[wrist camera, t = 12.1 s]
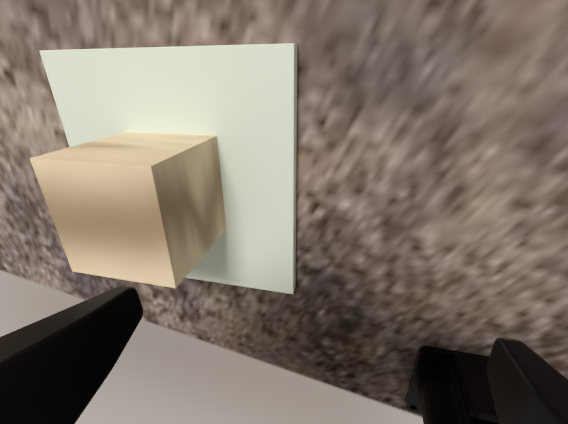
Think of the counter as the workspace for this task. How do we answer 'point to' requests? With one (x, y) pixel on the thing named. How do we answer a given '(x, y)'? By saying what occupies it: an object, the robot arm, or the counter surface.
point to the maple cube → (135, 204)
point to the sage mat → (204, 121)
